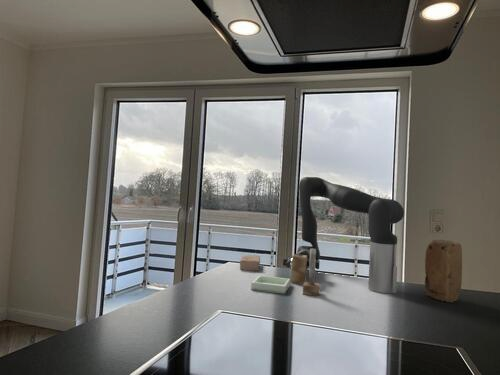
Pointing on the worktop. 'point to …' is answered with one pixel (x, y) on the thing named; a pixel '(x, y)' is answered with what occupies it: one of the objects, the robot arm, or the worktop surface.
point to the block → (443, 270)
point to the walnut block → (299, 269)
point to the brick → (250, 262)
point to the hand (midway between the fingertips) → (299, 266)
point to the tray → (270, 284)
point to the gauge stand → (311, 277)
